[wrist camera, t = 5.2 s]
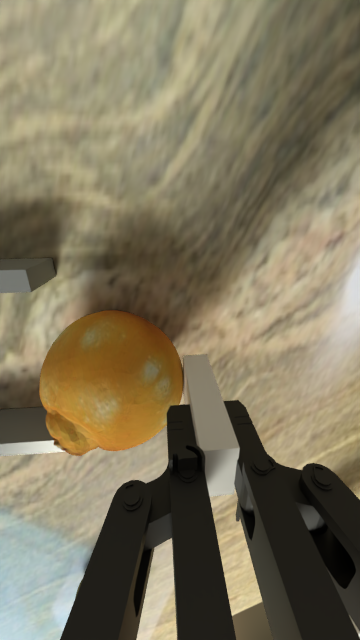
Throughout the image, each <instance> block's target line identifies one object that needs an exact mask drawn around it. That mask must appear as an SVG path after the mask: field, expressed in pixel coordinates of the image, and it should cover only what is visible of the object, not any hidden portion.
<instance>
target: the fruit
mask: <svg viewBox="0 0 360 640" xmlns="http://www.w3.org/2000/svg"><path fill="white" fill-rule="evenodd" d="M182 392H183V368H182V364H181V360H180V358H179V355H178V353H177V351H176V349H175V347H174V345H173V344H172V342H171V341H170V339H169V338H168V337H167V336H166V335H165V334H164V333H163V332H162V331H161V330H160V329H159V328H158V327H156V326H155V325H153V324H152V323H150V322H149V321H147V320H146V319H144V318H142V317H140V316H137V315H134V314H132V313H128V312H124V311H119V310H107V311H101V312H97V313H93V314H90V315H87V316H84V317H82V318H80V319H78V320H76V321H75V322H73V323H72V324H71V325H69V326H68V327H67V328H66V329H65V330H64V331H63V332H62V333H61V334H60V335H59V336H58V338H57V339H56V340H55V342H54V343H53V344H52V346H51V348H50V350H49V351H48V353H47V356H46V358H45V360H44V363H43V366H42V370H41V375H40V389H39V394H40V399H41V401H42V404H43V406H44V408H45V409H46V410H47V415H46V426H47V429H48V431H49V433H50V435H51V436H52V437H53V440H54V446H57V447H58V448H61V450H62V451H66V452H67V453H69V454H71V455H76V456H81V455H83V454H85V453H87V452H88V451H90V450H93V449H96V448H97V447H100V448H102V449H104V450H108V451H119V450H125V449H128V448H132V447H135V446H137V445H140V444H142V443H144V442H146V441H147V440H149V439H151V438H152V437H153V436H155V435H156V434H157V433H158V432H159V431H161V430H162V429H163V428H164V427H165V426H166V425H167V411H168V409H169V407H170V406H171V405H179V404H180V401H181V397H182Z"/></svg>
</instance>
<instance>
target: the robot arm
mask: <svg viewBox="0 0 360 640" xmlns="http://www.w3.org/2000/svg"><path fill="white" fill-rule="evenodd" d="M183 394H184V401H185V405H171V406H170V407H169V409H168V411H167V439H168V459H169V462H168V466H167V469H166V470H165V472H164V473H163V474H162V475H161V476H160V477H159V478H157V479H155V480H153V481H151V482H149V483H146V484H145V483H144V482H142V481H139V480H131V481H129V482H126V483H124V484H123V485H122V486H121V487H120V488H119V489H118V490H117V492H116V493H115V495H114V497H113V500H112V503H111V505H110V508H109V511H108V513H107V516H106V519H105V521H104V524H103V527H102V529H101V532H100V535H99V537H98V540H97V543H96V545H95V548H94V551H93V553H92V556H91V559H90V561H89V564H88V567H87V569H86V572H85V575H84V577H83V580H82V583H81V585H80V588H79V591H78V593H77V596H76V599H75V601H74V604H73V607H72V609H71V612H70V615H69V617H68V620H67V623H66V625H65V628H64V631H63V633H62V636H61V639H60V640H136V638H137V633H138V628H139V623H140V618H141V613H142V608H143V603H144V598H145V593H146V588H147V583H148V578H149V573H150V567H151V562H152V557H153V552H154V547H156V546H158V545H159V544H161V543H163V542H165V541H167V540H168V539H170V538H172V544H173V564H174V584H175V604H176V624H177V640H236V636H235V631H234V625H233V620H232V615H231V609H230V604H229V599H228V593H227V588H226V583H225V577H224V572H223V567H222V561H221V556H220V551H219V545H218V540H217V535H216V529H215V524H214V518H213V513H212V508H211V502H210V497H211V496H221V495H231V494H234V489H236V492H237V496H238V503H237V510H236V521H239V519H241V523H242V526H243V530H244V534H245V537H246V541H247V545H248V549H249V552H250V556H251V560H252V563H253V567H254V571H255V574H256V578H257V582H258V585H259V589H260V593H261V597H262V600H263V604H264V608H265V611H266V615H267V619H268V622H269V626H270V630H271V633H272V637H273V640H360V637H359V635H358V633H357V631H356V629H355V627H354V625H353V623H352V621H351V619H352V620H353V622H354V623H355V625H356V626H357V628H358V629H359V631H360V500H359V499H358V498H357V497H356V495H355V494H354V493H353V492H352V491H351V490H350V489H349V488H348V487H347V486H346V485H345V484H344V483H343V482H342V481H341V479H340V478H339V477H338V476H337V475H336V474H335V473H333V472H332V471H331V470H330V469H329V468H327V467H325V466H323V465H320V464H315V463H312V464H307V465H306V466H304V467H303V470H298V469H294V468H289V467H285V466H282V465H280V464H278V463H276V462H275V460H274V459H273V458H272V457H270V456H269V455H268V454H267V453H266V451H265V449H264V447H263V445H262V443H261V441H260V438H259V436H258V434H257V432H256V430H255V427H254V425H253V424H252V421H251V418H250V417H249V414H248V412H247V410H246V407H245V406H244V405H243V404H242V403H241V402H239V401H238V400H235V401H223V399H222V396H221V393H220V390H219V387H218V384H217V382H216V379H215V376H214V373H213V370H212V367H211V365H210V362H209V359H208V356H207V354H203V355H184V356H183ZM349 615H350V616H349ZM350 617H351V618H350Z"/></svg>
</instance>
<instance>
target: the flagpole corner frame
mask: <svg viewBox="0 0 360 640" xmlns="http://www.w3.org/2000/svg"><path fill="white" fill-rule="evenodd" d="M55 276H56V274H55V270H54V265H53V260H52V258H28V259H0V293H13V292H32V291H33V290H35V289H37V288H38V287H40V286H41V285H43V284H44V283H46V282H48V281H49V280H51V279H52V278H54V277H55ZM46 415H47V410H46V409H45V408H44V407H34V408H17V409H1V410H0V456H11V455H24V454H38V453H52V452H66V451H62V450H61V448H58V447H57V446H54V440H53V437H52V436H51V435H50V433H49V431H48V429H47V426H46Z"/></svg>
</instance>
